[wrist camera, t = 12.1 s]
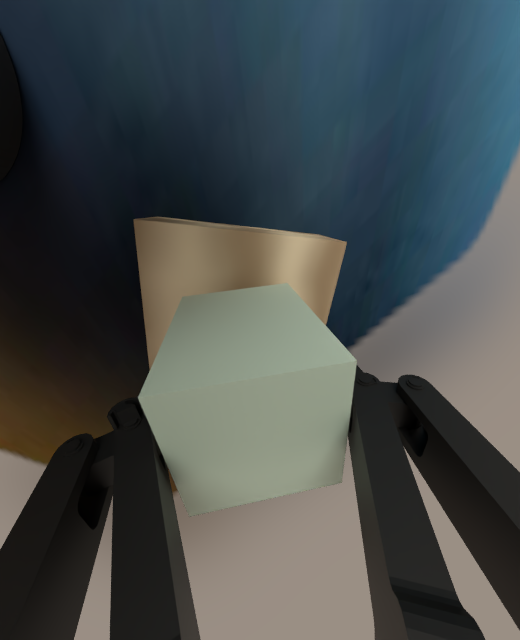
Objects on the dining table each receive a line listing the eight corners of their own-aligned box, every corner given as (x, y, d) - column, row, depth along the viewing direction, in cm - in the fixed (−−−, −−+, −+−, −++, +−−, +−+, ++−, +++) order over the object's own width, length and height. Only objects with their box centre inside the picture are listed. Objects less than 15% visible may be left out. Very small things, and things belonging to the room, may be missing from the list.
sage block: (203, 380, 18) (189, 516, 10) (182, 296, 15) (138, 397, 7) (290, 365, 19) (341, 483, 11) (287, 282, 16) (356, 360, 8)
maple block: (167, 357, 25) (152, 397, 20) (158, 216, 19) (133, 219, 14) (291, 358, 28) (308, 394, 22) (316, 234, 22) (347, 242, 16)
